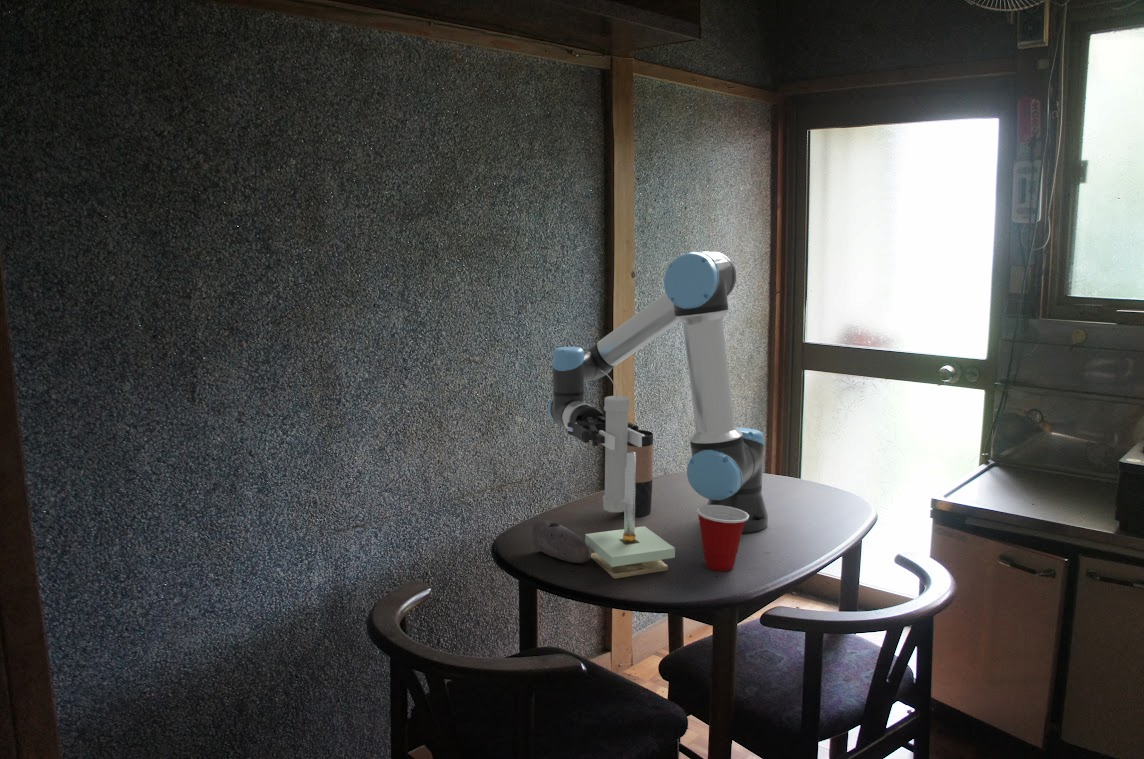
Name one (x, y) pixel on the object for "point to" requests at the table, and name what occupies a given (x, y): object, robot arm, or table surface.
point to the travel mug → (643, 473)
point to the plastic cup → (721, 534)
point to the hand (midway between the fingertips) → (626, 441)
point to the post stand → (630, 529)
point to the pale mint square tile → (629, 547)
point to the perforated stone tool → (559, 542)
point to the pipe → (616, 452)
